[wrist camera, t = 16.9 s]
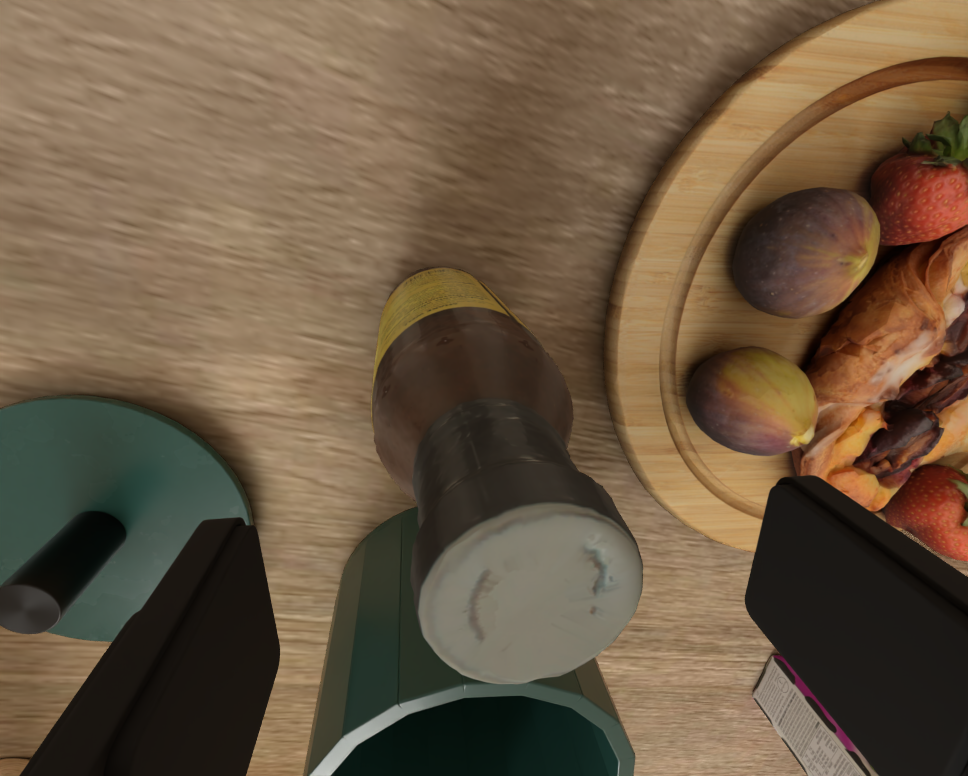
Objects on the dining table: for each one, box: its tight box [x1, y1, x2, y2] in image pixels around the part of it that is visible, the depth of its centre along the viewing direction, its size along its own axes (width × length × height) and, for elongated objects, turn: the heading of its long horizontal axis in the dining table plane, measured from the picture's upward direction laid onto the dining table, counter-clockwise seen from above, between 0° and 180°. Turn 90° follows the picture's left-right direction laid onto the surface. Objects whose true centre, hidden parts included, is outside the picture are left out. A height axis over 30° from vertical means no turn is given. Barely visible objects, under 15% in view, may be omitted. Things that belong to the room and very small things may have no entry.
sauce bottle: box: [371, 267, 643, 684], centre depth 17 cm, size 6×6×20 cm
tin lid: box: [0, 395, 254, 642], centre depth 25 cm, size 16×16×7 cm
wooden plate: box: [604, 0, 968, 561], centre depth 26 cm, size 32×32×8 cm
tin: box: [303, 507, 635, 776], centre depth 27 cm, size 15×15×13 cm
